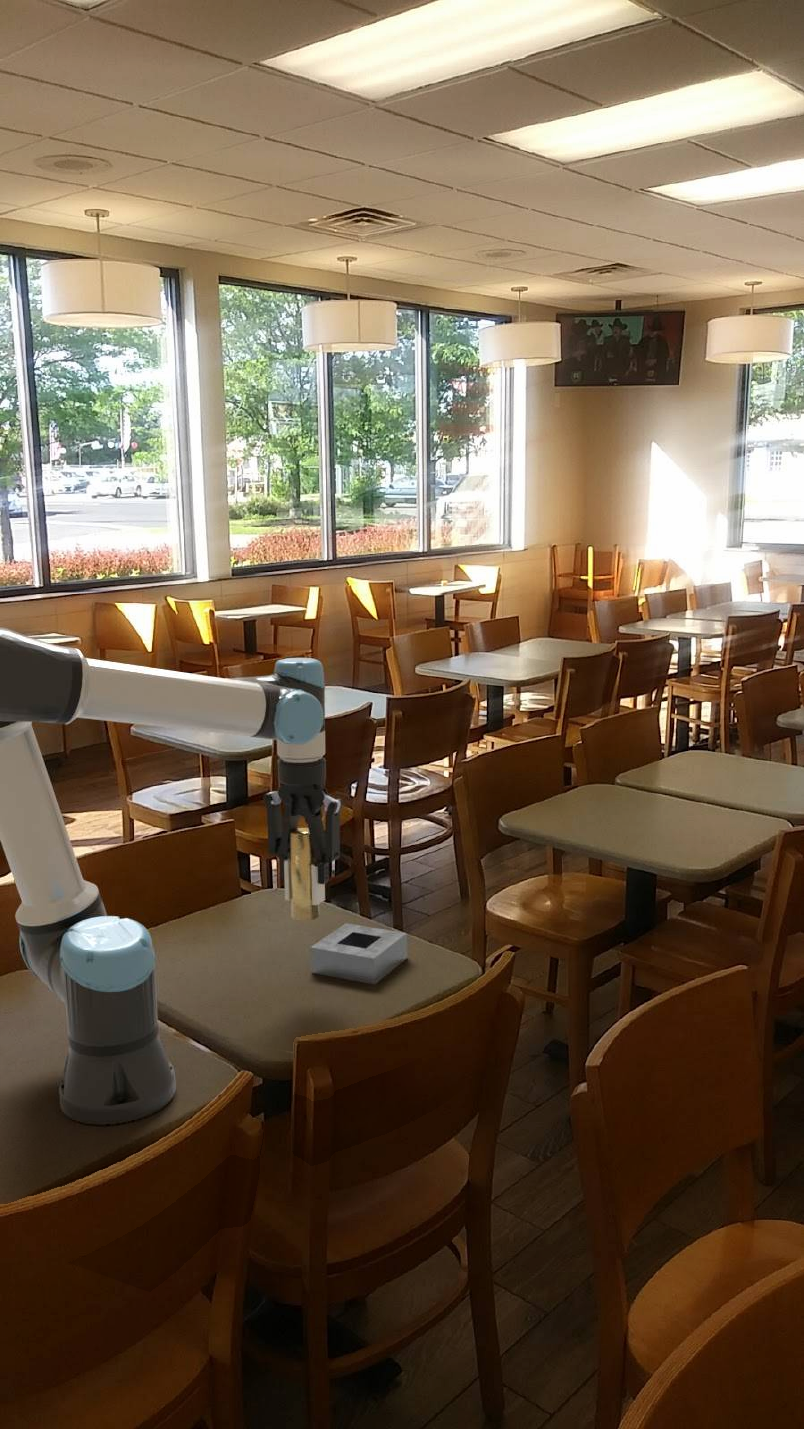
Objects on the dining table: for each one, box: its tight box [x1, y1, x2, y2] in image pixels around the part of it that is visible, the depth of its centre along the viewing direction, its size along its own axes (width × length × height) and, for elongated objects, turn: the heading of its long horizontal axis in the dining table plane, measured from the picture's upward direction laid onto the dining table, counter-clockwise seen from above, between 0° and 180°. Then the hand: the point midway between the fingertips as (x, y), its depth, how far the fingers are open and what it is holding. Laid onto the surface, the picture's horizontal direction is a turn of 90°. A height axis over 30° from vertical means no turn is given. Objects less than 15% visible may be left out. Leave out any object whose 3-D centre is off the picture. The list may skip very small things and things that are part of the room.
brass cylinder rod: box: [290, 827, 320, 922], centre depth 182 cm, size 4×4×14 cm
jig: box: [310, 922, 408, 985], centre depth 194 cm, size 12×12×4 cm
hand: (305, 899), depth 183 cm, fingers closed on brass cylinder rod, 4 cm apart
